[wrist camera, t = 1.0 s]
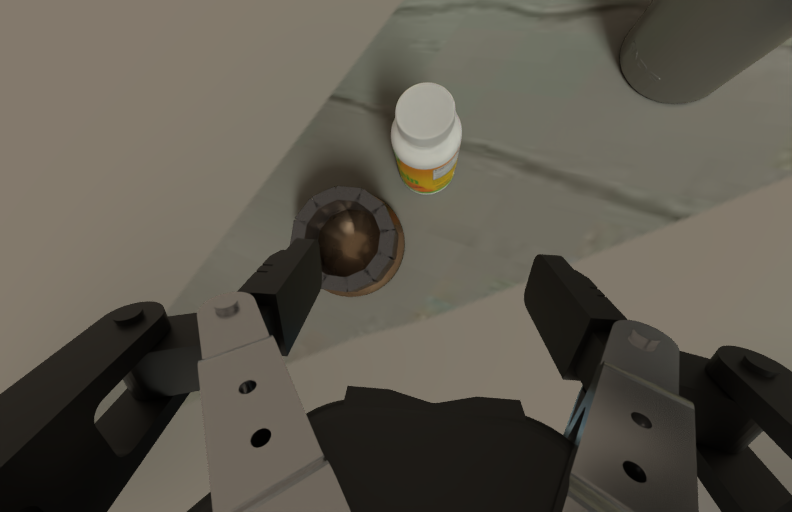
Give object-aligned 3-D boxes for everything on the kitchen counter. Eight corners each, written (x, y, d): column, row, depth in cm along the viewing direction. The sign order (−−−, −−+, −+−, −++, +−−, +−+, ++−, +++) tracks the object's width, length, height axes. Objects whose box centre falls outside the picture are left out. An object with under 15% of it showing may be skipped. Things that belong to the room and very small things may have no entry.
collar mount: (381, 179, 29) (373, 162, 26) (421, 271, 28) (419, 268, 24) (291, 219, 30) (270, 209, 26) (325, 312, 29) (308, 316, 25)
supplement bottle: (388, 166, 30) (368, 107, 20) (431, 132, 29) (431, 56, 20) (422, 206, 29) (417, 165, 19) (466, 172, 29) (484, 112, 19)
